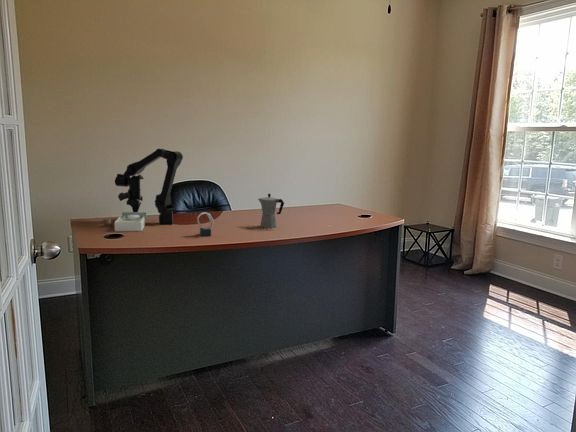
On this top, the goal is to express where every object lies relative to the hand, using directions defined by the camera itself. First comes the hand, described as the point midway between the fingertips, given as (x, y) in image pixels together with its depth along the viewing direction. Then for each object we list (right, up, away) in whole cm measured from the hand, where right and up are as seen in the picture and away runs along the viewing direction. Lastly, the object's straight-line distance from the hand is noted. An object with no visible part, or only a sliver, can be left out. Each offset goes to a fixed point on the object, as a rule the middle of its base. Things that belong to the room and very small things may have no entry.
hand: (135, 215), depth 247 cm
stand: (-9, -5, -16) cm, 19 cm away
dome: (+2, -2, -8) cm, 8 cm away
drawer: (+2, -3, -10) cm, 11 cm away
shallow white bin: (+4, -6, -19) cm, 20 cm away
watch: (+44, -10, -29) cm, 53 cm away
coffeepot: (+74, -6, -2) cm, 74 cm away
